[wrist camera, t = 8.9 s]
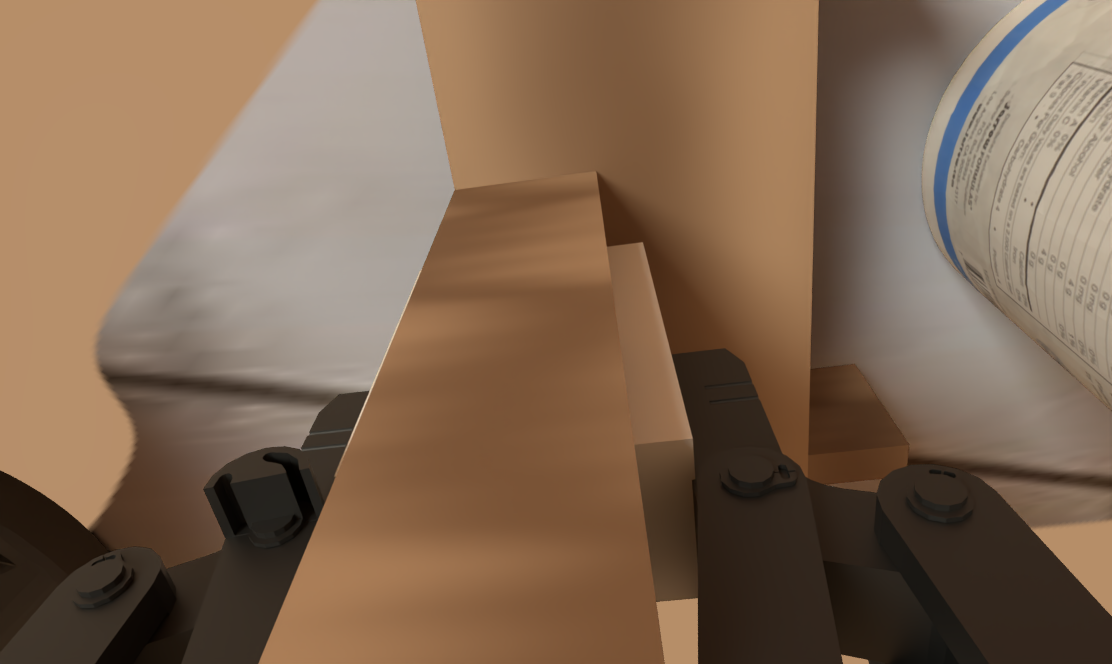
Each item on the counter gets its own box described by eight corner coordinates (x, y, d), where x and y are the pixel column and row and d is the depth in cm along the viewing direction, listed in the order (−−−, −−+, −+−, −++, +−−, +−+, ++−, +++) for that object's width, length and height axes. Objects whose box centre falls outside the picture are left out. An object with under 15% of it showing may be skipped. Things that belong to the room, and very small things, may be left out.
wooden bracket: (527, 427, 24) (476, 1164, 10) (442, -28, 18) (-43, 144, 4) (853, 392, 23) (1319, 1132, 9) (880, -95, 17) (2489, -218, 3)
